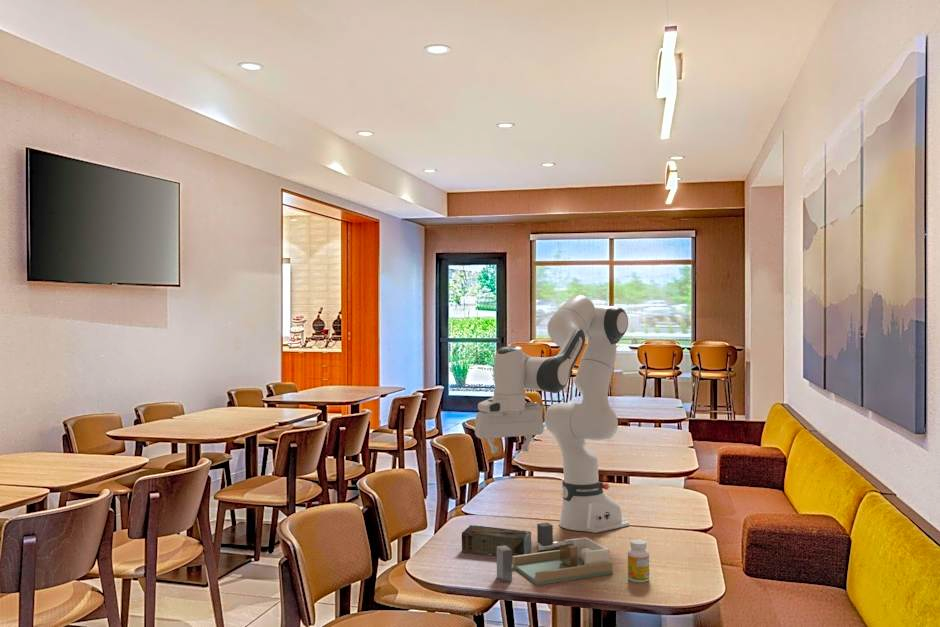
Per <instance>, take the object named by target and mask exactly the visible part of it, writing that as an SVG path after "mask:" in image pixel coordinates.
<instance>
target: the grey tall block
mask: <svg viewBox="0 0 940 627" xmlns="http://www.w3.org/2000/svg"><path fill="white" fill-rule="evenodd" d="M496 578H497V579H498V580H500V581H501V582H502V583H507V582H512V581H513V557H512V550H511V549H510V548H508V547H507V546H506V545H504V546H497V556H496Z"/></svg>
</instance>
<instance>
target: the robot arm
mask: <svg viewBox="0 0 940 627" xmlns="http://www.w3.org/2000/svg"><path fill="white" fill-rule="evenodd" d="M628 326H629V318H628V315H627V312H626V311H625V309H623V308H622V307H619V306H615V305H610V306H609V305H604V304H603V305H601V304H594V303H593V301H592V300H591V299H590V298H589V297H587V296H585V295H575V296H573V297H571V298H570V299H568V300H566V301H565V303H563V304H562V305H561V306H560V307H559V308H558V309H557V310H556V311H555V312H554V314H552V316H551V317H550V318H549V321H548V323H547V334H548V335H549V338H550V340H551V341H552V342H553V343H554V344H555V345H557V347H559V348H560V350H559V351H558V353H557V355H554V356H549V357H547V356H545V357H541V356H531V355H528V354H526V353H525V352H524V351H523V348H522V347H521V346H519V345H509V346H501V347H500V348H498V349H497V350H496V351H495V355H494V360H493V379H494V380H493V381H494V390H493V396H492V397H490V398H487V399H486V400H485V399H484V400H482V401H480V402H478V404H477V410H478V412H477V413H476V416H475V419H474V421H475V422H474V435H475V436H476V438H478V439H480V440H481V439H482V440H484V439H486V441H487V443H488V445H489V447H490V454H493V455H495V454H496V455H497V454H499V447H498V446H495V444H494V442H495V439H498V438H511V437H524V439H525V440H524V443H523V444H521V445H520V446H521V451H522V452H529V447H530V446H529V445H530V443H531V442H532V440H533V436H537V435H539V436H540V435H542V434H543V433H544V429H545V428H544V427H546V429H547V431H549V432H550V434H552V436H553V437H554V439H555V441H556V442H557V444H558V447H559V449H560V452H561V456H562V465H563V468H562V469H563V480H562V484H561V487H562V489H561V490H562V508H561V515H560V518H559V522H558V525H559V526H560V527H561V528H563V529H565V530H571V531H578V532H589V533H593V534H594V533H601V532H606V531H610V530H614V529H619V528H624V527H627V526H630V521H629V520H628V519H626V518H625V517H623V516H622V510H621V507H620V505H619V503H618V502H617V501H616V500H614V499H612V498H611V497H610V496H609V495H607V494H606V492H604V490H605V491H607V490H609V488H610V484H609V483H608V482H602V481H599V459H598V456H597V454H596V453H595V452H594V451H592V449H590V448H589V446H588V445H587V443H586V440H589V441H604V440H609V439H610V440H611V439H612V438H613V437H614V436H615V435H616V433H617V431H618V427H619V421H618V416H617V414H616V412H615V411H614V410H613V409H612V407H611V406H610V403H609V396H608V394H609V387H610V383H611V380H612V379H611V378H612V376H613V372H614V367H615V362H616V357H617V344H618V342H620V341H621V339H622V338H623V337H624V336H625V334H626V332H627V330H628ZM586 339H587V343H586ZM585 343H586V346H585ZM584 346H585V348H584ZM583 349H584V350H583ZM582 351H583V353H582ZM581 353H582V355H581ZM580 355H581V358H580V362H579V364H578V369H577V371H576V375H575V378H574V386H575V388H576V389H577V391H578V392H579V393H580V394H582V401H581V403H573V402H557V403H553V404H550V405H549V406H548V408H547V409H546V410H545V412H544V411H543V410H544V409H543V406H542V405H541V403H539V402H537V401H534V402H526V392H525V391H526V390H529V391H530V390H531V391H542V392H545V393H546V392H548V393H552V394H558V393H560V392H561V391H562V390H564V389H565V388H566V386H567V384H568V382H569V379H570V375H571V372H572V370H573V368H574V367H575V365H576V363H577V361H578V358H579V356H580ZM543 412H544V420H543ZM544 423H545V424H544ZM544 425H545V426H544ZM603 489H604V490H603Z"/></svg>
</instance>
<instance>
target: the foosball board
mask: <svg viewBox="0 0 940 627" xmlns="http://www.w3.org/2000/svg"><path fill="white" fill-rule="evenodd" d="M566 540H572V541H573V545H575V546H576V547H577V556H578V566H575V567H569V566H567V565H566V564H564V563H563V562H561V561H560V550H553V551H546V552H539V553H536V552H533V553H531V552H530V553H529V554H524V555H517V556H513V557H512V569H514V568H515V569H514V570H516V571H517V570H518V571H519V574H520V575H522V574H523V575H522V576H524V577H525V578H527V579H528V580H529V581H530V582H532V583H534V585H536V586H543V585H549V584H550V585H551V584H556V582H557V583H561V582H568V581H569V582H570V581H575V580H581V579H589V578H594V577H601V576H607V575H612V574H613V575H614V573H613V571H614V569H613V568H614V565H613V562H612V561H610V548H607V547H606V546H604V545H602V544H600V543H598V542H596V541H595V540H593V539H591V538H589V537H587V536H585V537H584V536H583V537H578V538H570V539H564V540H563V541H566ZM584 548H590V549H591V550H592V551H585V552H584V562H582V561H581V559H580V552H581V550H582V549H584ZM518 571H517V572H518Z"/></svg>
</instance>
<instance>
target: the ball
mask: <svg viewBox="0 0 940 627" xmlns="http://www.w3.org/2000/svg"><path fill="white" fill-rule="evenodd" d="M585 551H592V550H591V549H590V548H584V549H582V550H581V552H580V559H581V561H582V562H584V552H585Z"/></svg>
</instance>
